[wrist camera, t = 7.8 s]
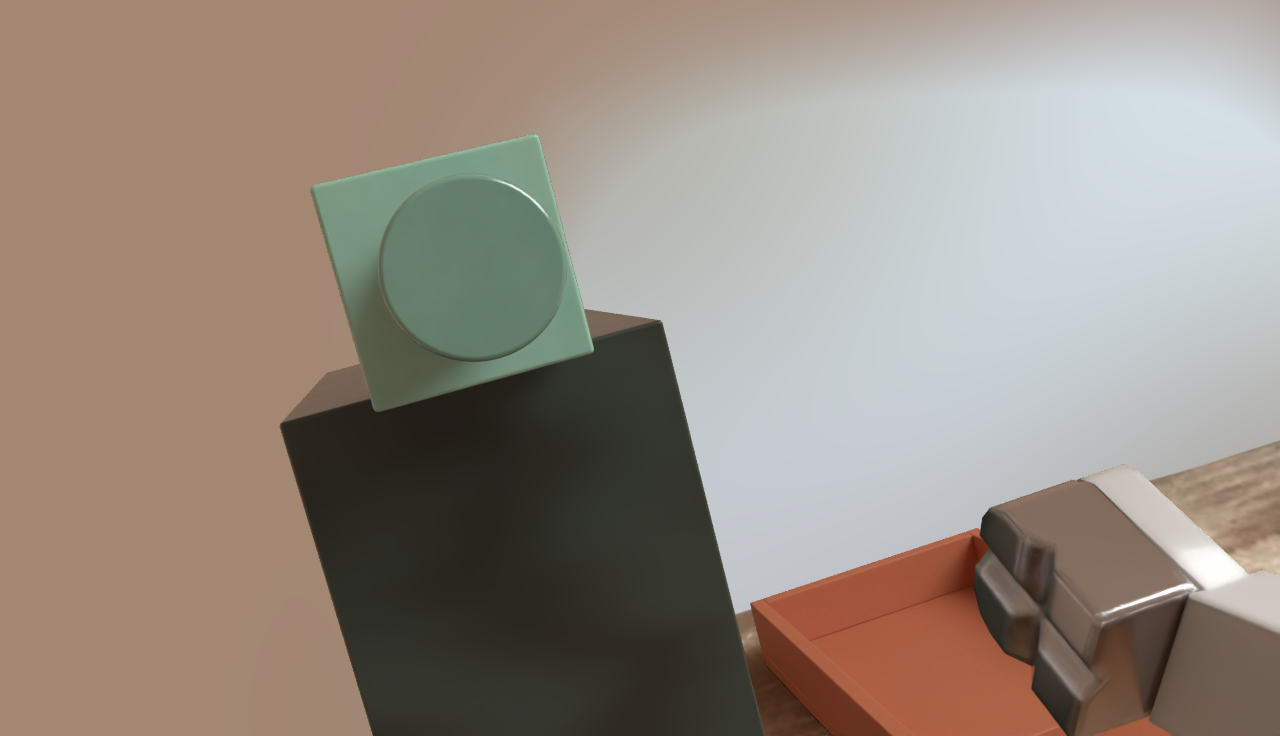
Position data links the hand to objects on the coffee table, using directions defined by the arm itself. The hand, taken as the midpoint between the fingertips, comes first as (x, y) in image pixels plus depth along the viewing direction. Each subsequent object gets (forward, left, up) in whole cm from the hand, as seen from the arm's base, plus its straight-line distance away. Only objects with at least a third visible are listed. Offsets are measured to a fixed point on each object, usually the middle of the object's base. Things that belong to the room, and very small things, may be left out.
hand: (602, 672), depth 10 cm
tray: (+20, +36, -22) cm, 47 cm away
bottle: (0, +12, +2) cm, 12 cm away
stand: (0, +18, -22) cm, 28 cm away
